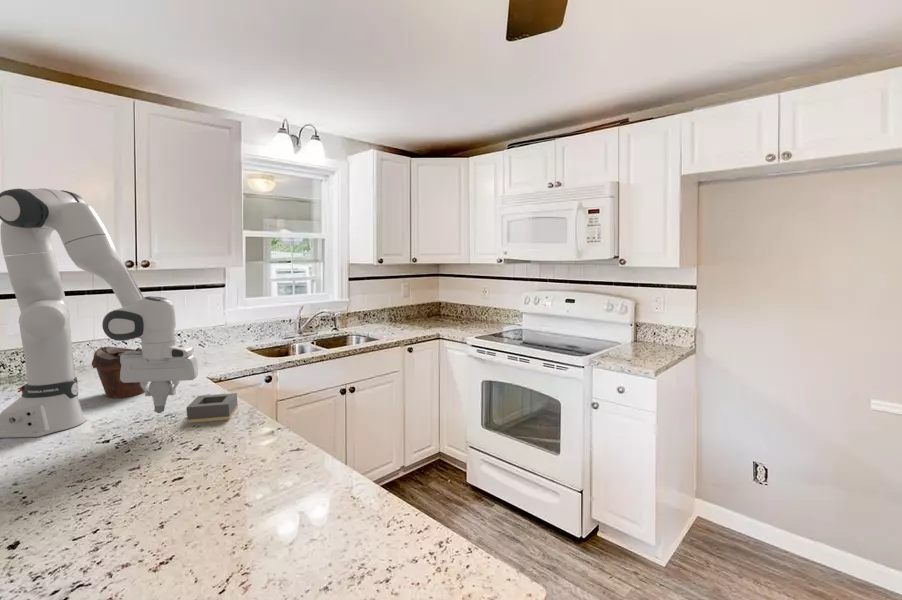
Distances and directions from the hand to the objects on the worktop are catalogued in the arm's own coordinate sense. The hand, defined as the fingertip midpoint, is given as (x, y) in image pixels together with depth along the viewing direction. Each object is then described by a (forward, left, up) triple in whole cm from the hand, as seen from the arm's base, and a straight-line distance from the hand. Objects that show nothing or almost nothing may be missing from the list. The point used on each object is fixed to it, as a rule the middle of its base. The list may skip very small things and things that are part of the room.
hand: (160, 395), depth 140 cm
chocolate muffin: (-26, +42, -10) cm, 50 cm away
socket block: (+13, +7, -10) cm, 17 cm away
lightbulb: (-1, 0, -6) cm, 6 cm away
